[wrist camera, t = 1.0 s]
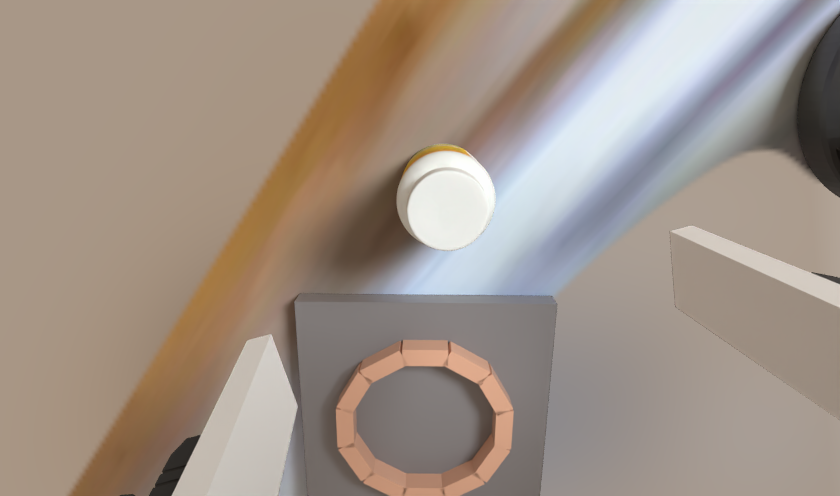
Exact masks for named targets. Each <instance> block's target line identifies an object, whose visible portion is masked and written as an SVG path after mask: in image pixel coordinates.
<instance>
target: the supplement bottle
mask: <svg viewBox="0 0 840 496" xmlns="http://www.w3.org/2000/svg"><path fill="white" fill-rule="evenodd" d="M396 203H397V210H398V214H399V217H400V220H401V222H402V224H403V225H404V227H405V228H406V230H407V231H408V232H409V233H410V234H411V235H412V236H413V237H414V238H415V239H416V240H418V241H419V242H421V243H423V244H425V245H427V246H429V247H431V248H434V249H437V250H442V251H453V250H458V249H461V248H464V247H466V246H468V245H469V244H471V243H472V242H474V241H475V240H476V239H477V238H478V237H479V236H480V235H481V234H482V233H483V232H484V230H485V229H486V228H487V226H488V225H489V223H490V221H491V219H492V216H493V213H494V209H495V190H494V186H493V183H492V180H491V178H490V176H489V174H488V173H487V171H486V170H485V169H484V168H483V166H482V165H481V164H480V163H479V162H478V161H477V160H476V159H475V158H474V157H473V156H472V155H471V154H470V153H468V152H467V151H466V150H464V149H462V148H460V147H458V146H455V145H451V144H435V145H431V146H428V147H426V148H424V149H422V150H420V151H419V152H417V153H416V154H415V155H414V156H413V157H412V158H411V160H410V161H409V162H408V164H407V166H406V168H405V170H404V172H403V175H402V178H401V181H400V183H399V186H398V190H397V201H396Z"/></svg>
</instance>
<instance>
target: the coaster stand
mask: <svg viewBox="0 0 840 496" xmlns="http://www.w3.org/2000/svg"><path fill="white" fill-rule="evenodd" d="M294 304H295V319H296V334H297V348H298V363H299V378H300V393H301V407H302V422H303V437H304V452H305V466H306V481H307V496H540V489H541V478H542V467H543V456H544V445H545V434H546V423H547V412H548V401H549V390H550V379H551V368H552V357H553V346H554V335H555V323H556V313H557V303H556V301H555V300H554V298H553V297H552V296H503V295H394V294H299V295H298V297H297V298H296V300H295V301H294Z"/></svg>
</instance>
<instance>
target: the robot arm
mask: <svg viewBox="0 0 840 496" xmlns="http://www.w3.org/2000/svg"><path fill="white" fill-rule="evenodd" d="M798 131H799V138H800V143H801V147H802V150H803V153H804V155H805V158H806V160H807V162H808V164H809V166H810V168H811V170H812V171H813V173H814V174H815V175H816V177H817V178H818V179H819V181H820V182H821V183H822V184H823V185H824V186H825V187H826V188H827V189H829V190H830V191H831V192H832V193H834V194H835V195H837V196H838V197H840V16H839V17H838V18H837V19H836V21H835V22H834V23H833V24H832V26H831V27H830V28H829V30H828V31H827V33H826V34H825V35H824V37H823V39H822V40H821V42H820V44H819V45H818V47H817V49H816V51H815V53H814V55H813V57H812V59H811V61H810V63H809V66H808V68H807V71H806V74H805V77H804V80H803V83H802V87H801V91H800V97H799V104H798ZM670 243H671V258H672V271H673V285H674V298H675V307H676V308H678V309H679V310H681V311H682V312H683V313H685V314H686V315H688V316H689V317H691V318H692V319H694V320H695V321H696V322H698V323H699V324H701V325H702V326H704V327H705V328H707V329H708V330H710V331H711V332H712V333H714V334H715V335H717V336H718V337H720V338H721V339H723V340H724V341H726V342H727V343H728V344H730V345H731V346H733V347H734V348H736V349H737V350H739V351H740V352H741V353H743V354H744V355H746V356H748V357H749V358H750V359H752V360H753V361H755V362H756V363H758V364H759V365H760V366H762V367H763V368H765V369H766V370H768V371H769V372H770V373H772V374H774V375H775V376H776V377H778V378H779V379H781V380H782V381H784V382H785V383H787V384H788V385H789V386H791V387H792V388H794V389H795V390H797V391H798V392H800V393H801V394H802V395H804V396H805V397H807V398H808V399H810V400H811V401H813V402H814V403H815V404H817V405H818V406H820V407H822V408H823V409H824V410H826V411H827V412H828V413H830V414H831V415H833V416H834V417H836V418H837V419H839V420H840V278H838V277H833V276H828V275H823V274H818V273H813V272H812V273H810V272H807V271H805V270H803V269H800V268H798V267H795V266H793V265H790V264H788V263H785V262H783V261H780V260H778V259H775V258H772V257H770V256H768V255H765V254H763V253H760V252H758V251H755V250H753V249H750V248H748V247H746V246H743V245H741V244H738V243H735V242H733V241H730V240H728V239H726V238H723V237H720V236H718V235H716V234H713V233H711V232H708V231H706V230H703V229H701V228H698V227H696V226H693V225H691V226H687V227H683V228H679V229H676V230H671V231H670ZM297 408H298V405H297V403H296V400H295V397H294V394H293V392H292V389H291V386H290V384H289V381H288V378H287V376H286V373H285V370H284V367H283V365H282V362H281V359H280V357H279V354H278V351H277V349H276V346H275V343H274V341H273V338H272V335H271V334H269V335H265V336H262V337H258V338H254V339H250V340H247V342H246V344H245V346H244V348H243V350H242V352H241V354H240V356H239V358H238V360H237V362H236V364H235V366H234V369H233V371H232V373H231V375H230V377H229V379H228V381H227V383H226V385H225V387H224V389H223V391H222V393H221V395H220V397H219V399H218V401H217V403H216V406H215V408H214V410H213V412H212V414H211V416H210V418H209V420H208V422H207V424H206V426H205V428H204V430H203V432H202V434H201V435H198V436H194V437H191V438H187V439H186V440H185V441H184V442H183V443H182V444H181V445H180V446H179V447H178V448H177V449H176V450H175V451H174V452H173V453H172V454H171V456H170V458H169V460H168V462H167V463H166V465H165V467H164V469H163V471H162V472H163V474H160V476H159V478H158V480H157V482H156V484H155V488H153V489H152V491H151V493H150V495H149V496H278V493H279V489H280V484H281V480H282V475H283V471H284V466H285V462H286V457H287V453H288V448H289V444H290V439H291V435H292V430H293V426H294V421H295V417H296V412H297ZM120 496H135V495H133V494H129V495H120Z"/></svg>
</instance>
